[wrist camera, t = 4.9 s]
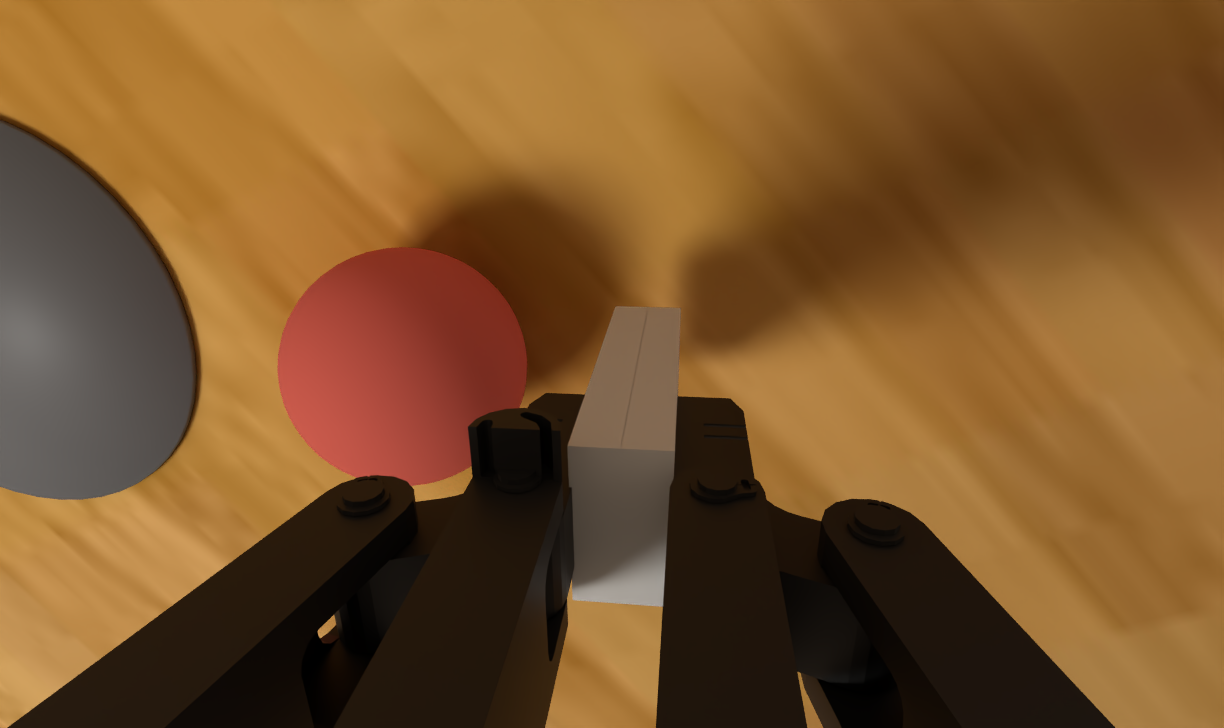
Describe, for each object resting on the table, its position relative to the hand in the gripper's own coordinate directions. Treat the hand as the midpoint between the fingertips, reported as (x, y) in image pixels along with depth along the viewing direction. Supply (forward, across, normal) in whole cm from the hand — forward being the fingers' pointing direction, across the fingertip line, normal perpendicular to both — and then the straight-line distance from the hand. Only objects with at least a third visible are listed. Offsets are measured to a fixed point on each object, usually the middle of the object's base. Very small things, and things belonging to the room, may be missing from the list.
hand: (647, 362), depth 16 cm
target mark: (+2, +19, 0) cm, 19 cm away
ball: (-1, +6, 0) cm, 6 cm away
